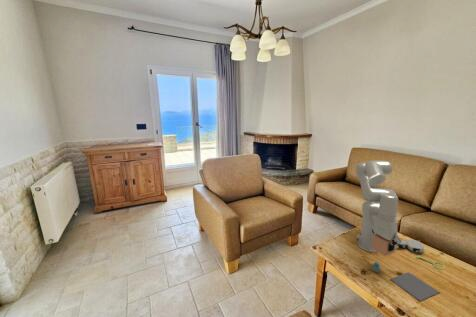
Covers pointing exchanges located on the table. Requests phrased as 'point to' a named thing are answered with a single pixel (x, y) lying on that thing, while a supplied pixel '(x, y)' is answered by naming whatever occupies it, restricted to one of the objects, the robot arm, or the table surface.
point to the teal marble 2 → (376, 269)
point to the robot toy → (411, 245)
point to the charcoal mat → (414, 286)
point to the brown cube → (381, 245)
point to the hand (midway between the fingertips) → (383, 246)
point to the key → (432, 263)
